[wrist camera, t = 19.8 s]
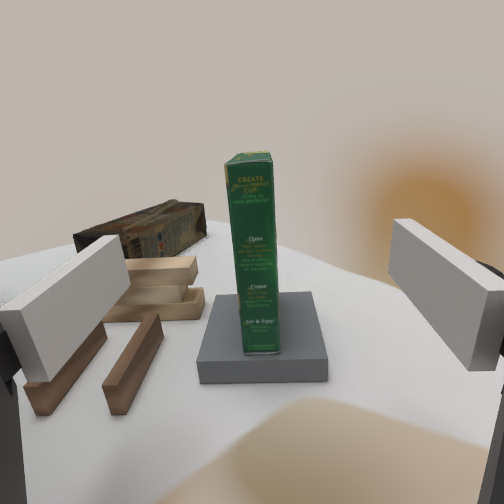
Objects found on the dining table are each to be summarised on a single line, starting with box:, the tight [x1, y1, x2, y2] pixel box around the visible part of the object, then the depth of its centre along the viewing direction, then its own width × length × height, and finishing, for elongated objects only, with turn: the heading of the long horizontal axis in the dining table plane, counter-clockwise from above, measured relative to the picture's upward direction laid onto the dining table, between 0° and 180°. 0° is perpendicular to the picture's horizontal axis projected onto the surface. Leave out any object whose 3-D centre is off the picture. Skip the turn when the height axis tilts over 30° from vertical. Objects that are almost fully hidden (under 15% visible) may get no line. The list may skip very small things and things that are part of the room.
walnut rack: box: [23, 313, 164, 415], centre depth 24 cm, size 6×8×2 cm
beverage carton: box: [73, 199, 207, 259], centre depth 45 cm, size 8×19×7 cm, turn 156°
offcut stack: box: [102, 256, 205, 322], centre depth 31 cm, size 11×3×5 cm, turn 87°
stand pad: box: [196, 292, 328, 384], centre depth 26 cm, size 9×9×2 cm
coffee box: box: [224, 151, 281, 355], centre depth 23 cm, size 8×3×13 cm, turn 177°
